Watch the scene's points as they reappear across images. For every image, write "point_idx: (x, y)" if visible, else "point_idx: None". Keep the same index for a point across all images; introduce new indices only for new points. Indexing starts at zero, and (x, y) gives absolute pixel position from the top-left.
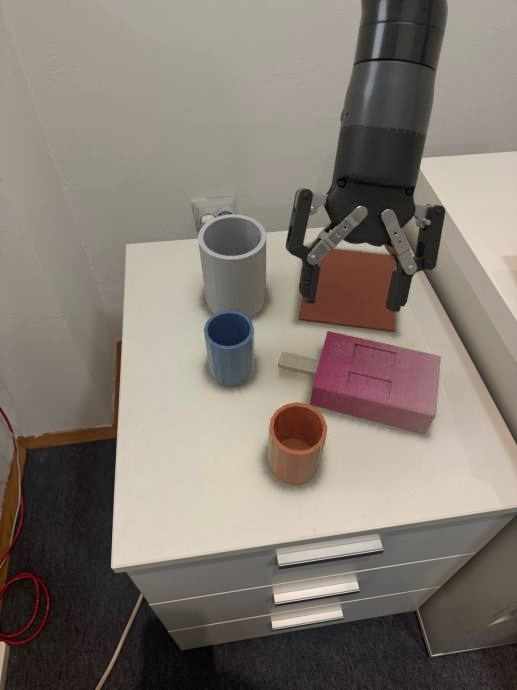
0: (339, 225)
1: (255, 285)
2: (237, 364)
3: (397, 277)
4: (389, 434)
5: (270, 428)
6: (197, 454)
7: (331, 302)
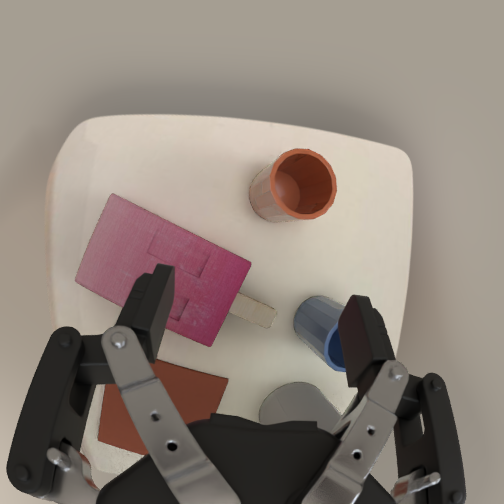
0: (376, 457)
1: (291, 415)
2: (333, 305)
3: (153, 333)
4: (161, 205)
5: (335, 190)
6: (361, 223)
7: (183, 397)
